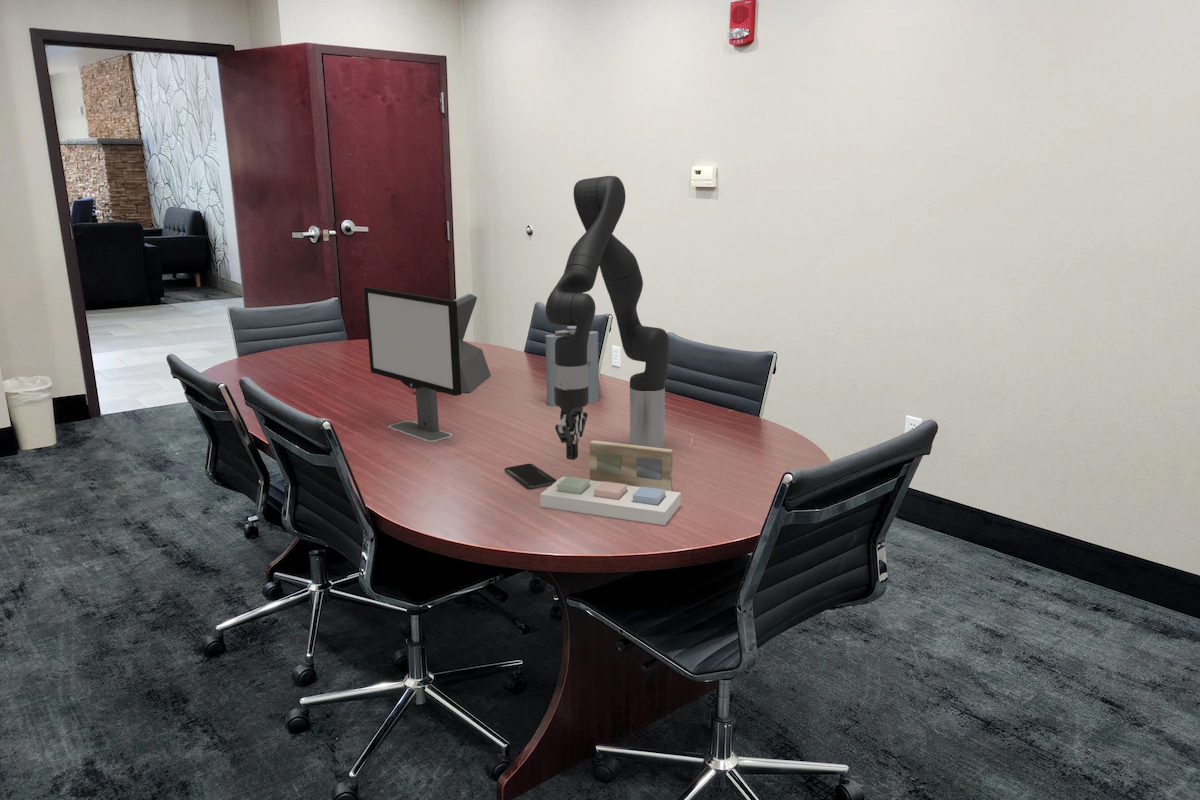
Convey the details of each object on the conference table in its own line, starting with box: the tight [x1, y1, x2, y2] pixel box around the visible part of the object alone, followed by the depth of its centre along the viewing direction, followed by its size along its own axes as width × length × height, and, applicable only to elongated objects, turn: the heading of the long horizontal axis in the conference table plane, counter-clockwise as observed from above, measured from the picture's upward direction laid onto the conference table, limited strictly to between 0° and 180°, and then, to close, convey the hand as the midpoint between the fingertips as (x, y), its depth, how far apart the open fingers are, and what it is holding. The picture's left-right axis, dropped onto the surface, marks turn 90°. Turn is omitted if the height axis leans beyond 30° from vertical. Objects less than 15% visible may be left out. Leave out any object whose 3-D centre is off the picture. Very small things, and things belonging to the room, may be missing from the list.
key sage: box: [557, 476, 590, 495], centre depth 192 cm, size 6×6×3 cm
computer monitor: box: [363, 286, 462, 443], centre depth 238 cm, size 41×8×40 cm, turn 47°
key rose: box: [594, 481, 627, 500], centre depth 189 cm, size 6×6×3 cm
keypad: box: [539, 476, 682, 526], centre depth 189 cm, size 12×29×3 cm, turn 68°
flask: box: [545, 325, 600, 407], centre depth 269 cm, size 17×5×25 cm, turn 112°
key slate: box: [633, 486, 665, 506], centre depth 185 cm, size 6×6×3 cm
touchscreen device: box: [414, 293, 492, 394], centre depth 295 cm, size 35×20×30 cm, turn 170°
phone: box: [503, 463, 557, 490], centre depth 207 cm, size 8×1×15 cm
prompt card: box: [588, 440, 674, 491], centre depth 200 cm, size 2×20×10 cm, turn 68°
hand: (572, 458), depth 190 cm, fingers closed
